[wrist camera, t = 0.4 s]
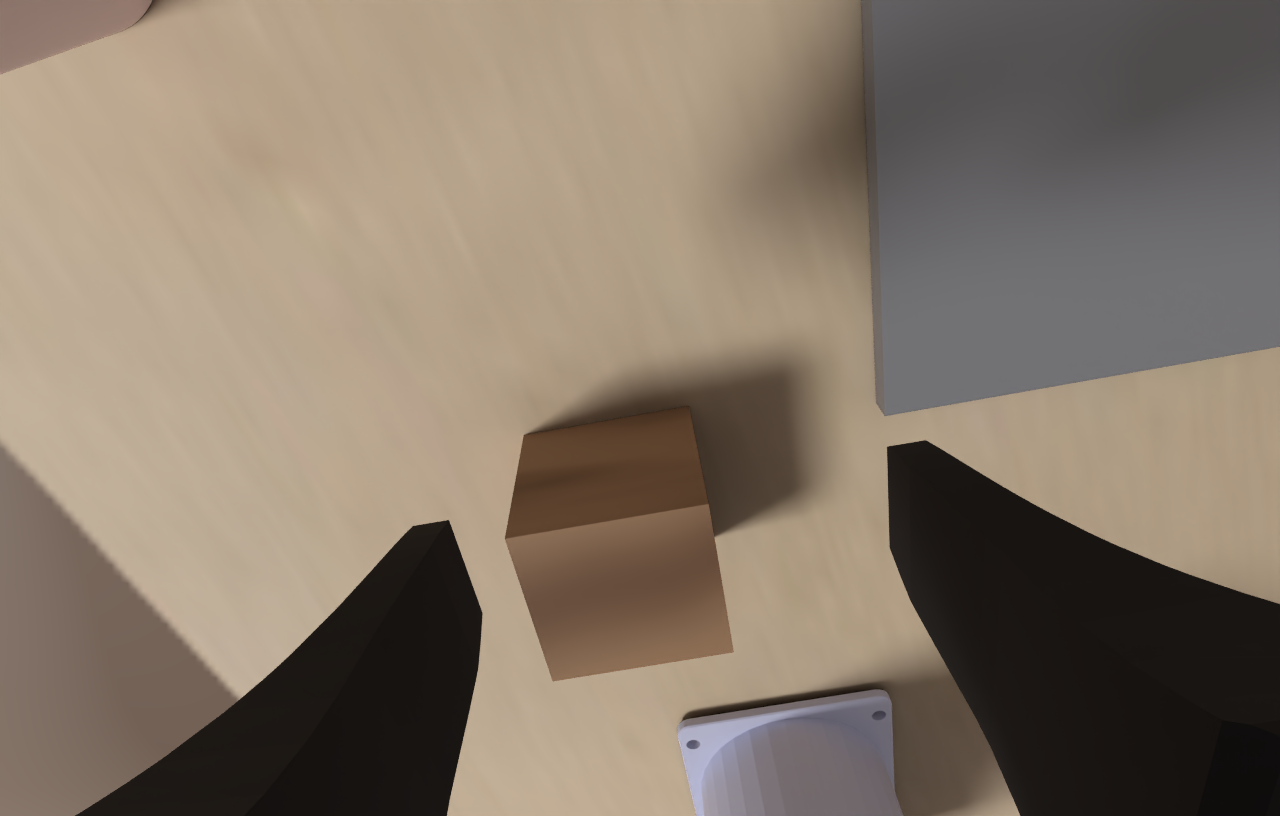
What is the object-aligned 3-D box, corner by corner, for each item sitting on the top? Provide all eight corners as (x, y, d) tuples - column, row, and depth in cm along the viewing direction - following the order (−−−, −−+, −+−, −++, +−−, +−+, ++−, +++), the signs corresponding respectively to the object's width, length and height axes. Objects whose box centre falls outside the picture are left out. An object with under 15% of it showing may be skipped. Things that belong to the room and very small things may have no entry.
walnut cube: (711, 536, 25) (733, 651, 21) (562, 561, 25) (552, 681, 21) (688, 404, 23) (708, 503, 18) (524, 434, 23) (504, 538, 19)
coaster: (1289, 330, 22) (1312, 341, 21) (876, 402, 23) (884, 416, 22) (1414, -178, 16) (1450, -185, 16) (858, -62, 17) (869, -65, 16)
